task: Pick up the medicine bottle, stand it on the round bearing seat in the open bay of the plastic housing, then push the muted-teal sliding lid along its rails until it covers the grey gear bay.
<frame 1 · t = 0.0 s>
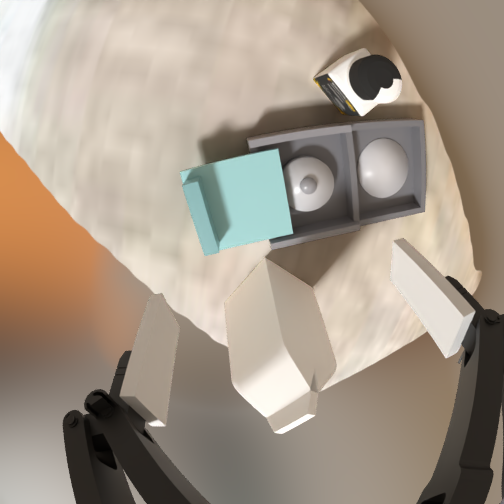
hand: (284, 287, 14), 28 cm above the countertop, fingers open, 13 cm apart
milk: (268, 294, 50), on the countertop
medicine bottle: (343, 84, 33), on the countertop
housing: (344, 172, 40), on the countertop
lid: (239, 206, 35), point 6 cm above the countertop, slide at 10.0 cm
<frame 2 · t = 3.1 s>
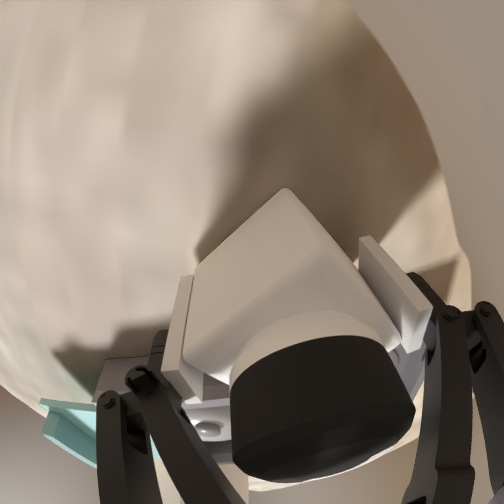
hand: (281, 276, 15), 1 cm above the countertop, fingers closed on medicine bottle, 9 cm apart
milk: (196, 458, 34), on the countertop
medicine bottle: (277, 263, 17), on the countertop, touching gripper
housing: (278, 390, 23), on the countertop
lid: (115, 448, 19), point 6 cm above the countertop, slide at 10.0 cm
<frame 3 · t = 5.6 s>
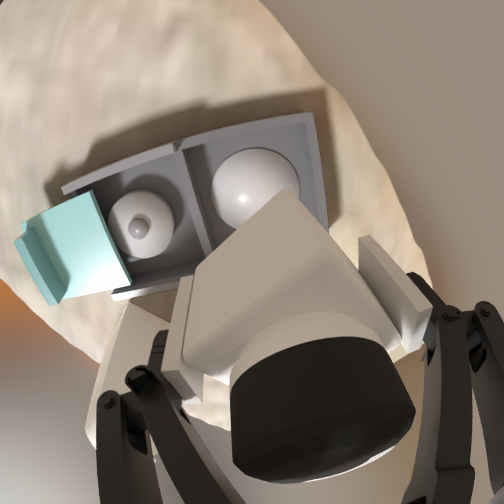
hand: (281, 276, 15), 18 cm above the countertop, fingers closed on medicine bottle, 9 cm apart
milk: (147, 338, 42), on the countertop
medicine bottle: (277, 264, 17), point 17 cm above the countertop, touching gripper
housing: (199, 202, 31), on the countertop
lid: (66, 258, 27), point 6 cm above the countertop, slide at 10.0 cm
when the fingers open (4 cm above the countertop, at t = 8.3 s): medicine bottle drops 2 cm, resting on housing.
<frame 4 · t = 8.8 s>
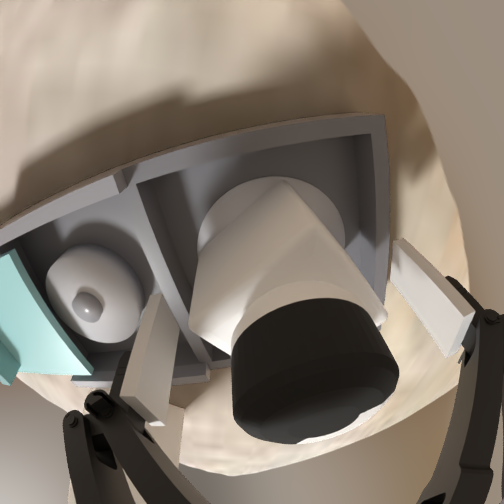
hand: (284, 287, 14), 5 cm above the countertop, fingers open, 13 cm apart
milk: (129, 407, 30), on the countertop
medicine bottle: (274, 249, 18), point 1 cm above the countertop, touching housing
housing: (179, 264, 19), on the countertop
lid: (5, 336, 15), point 6 cm above the countertop, slide at 10.0 cm
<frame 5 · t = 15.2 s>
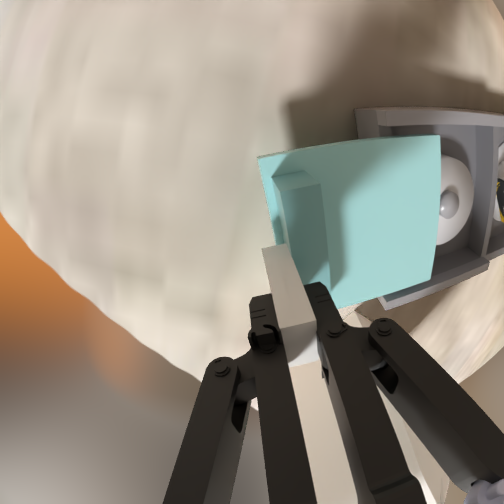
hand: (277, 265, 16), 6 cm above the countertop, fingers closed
milk: (345, 356, 31), on the countertop
housing: (471, 183, 21), on the countertop
lid: (376, 239, 16), point 6 cm above the countertop, slide at 8.8 cm, touching gripper
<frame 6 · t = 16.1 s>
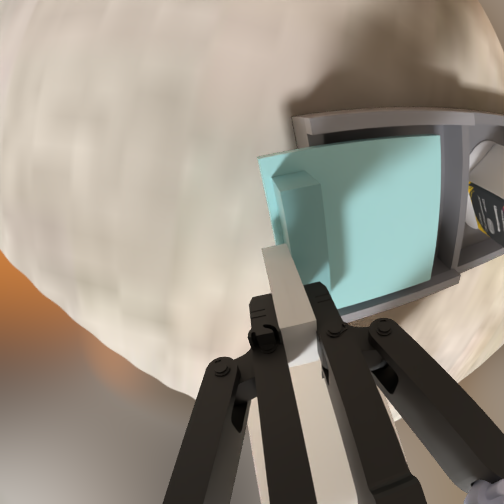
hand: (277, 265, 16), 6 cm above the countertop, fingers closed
milk: (306, 367, 32), on the countertop
medicine bottle: (486, 185, 20), point 1 cm above the countertop, touching housing
housing: (441, 189, 21), on the countertop
lid: (376, 239, 16), point 6 cm above the countertop, slide at 3.8 cm, touching gripper
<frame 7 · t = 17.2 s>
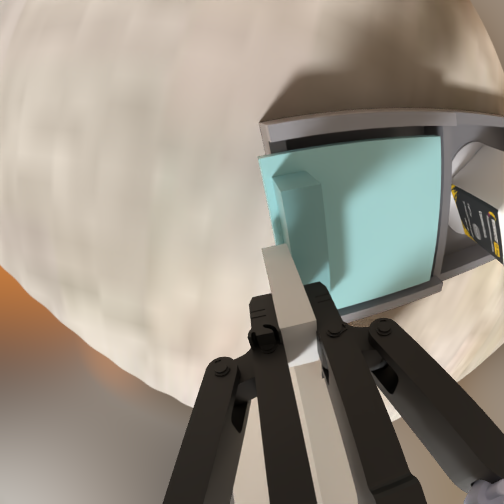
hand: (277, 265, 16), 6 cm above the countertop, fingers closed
milk: (286, 371, 32), on the countertop
medicine bottle: (474, 188, 20), point 1 cm above the countertop, touching housing
housing: (423, 193, 21), on the countertop
lid: (376, 239, 16), point 6 cm above the countertop, slide at 1.3 cm, touching gripper
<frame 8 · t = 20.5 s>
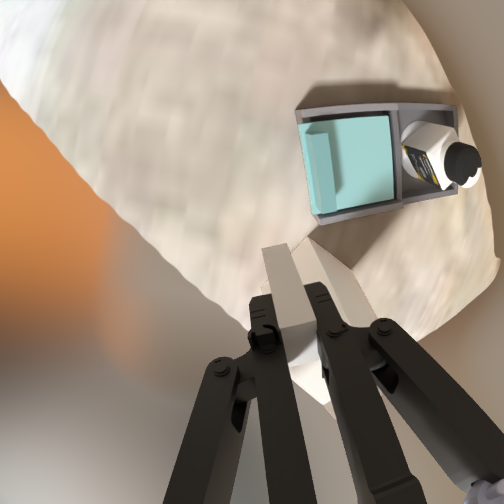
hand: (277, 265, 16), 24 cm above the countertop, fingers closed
milk: (307, 277, 48), on the countertop
medicine bottle: (422, 149, 36), point 1 cm above the countertop, touching housing
housing: (386, 151, 37), on the countertop
lid: (356, 165, 32), point 6 cm above the countertop, slide at 1.3 cm
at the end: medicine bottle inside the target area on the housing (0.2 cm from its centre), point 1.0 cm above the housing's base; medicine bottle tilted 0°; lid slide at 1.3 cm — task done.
